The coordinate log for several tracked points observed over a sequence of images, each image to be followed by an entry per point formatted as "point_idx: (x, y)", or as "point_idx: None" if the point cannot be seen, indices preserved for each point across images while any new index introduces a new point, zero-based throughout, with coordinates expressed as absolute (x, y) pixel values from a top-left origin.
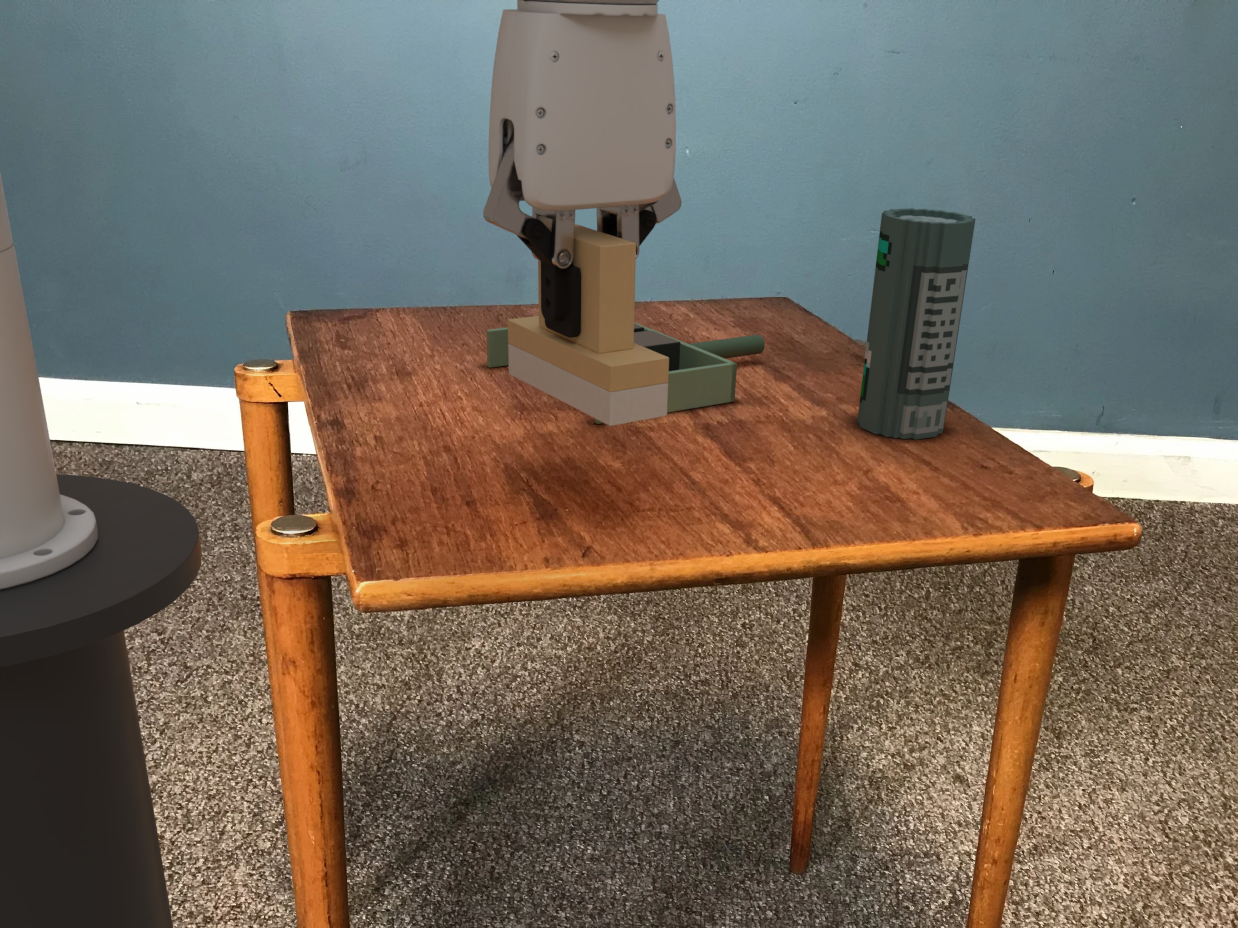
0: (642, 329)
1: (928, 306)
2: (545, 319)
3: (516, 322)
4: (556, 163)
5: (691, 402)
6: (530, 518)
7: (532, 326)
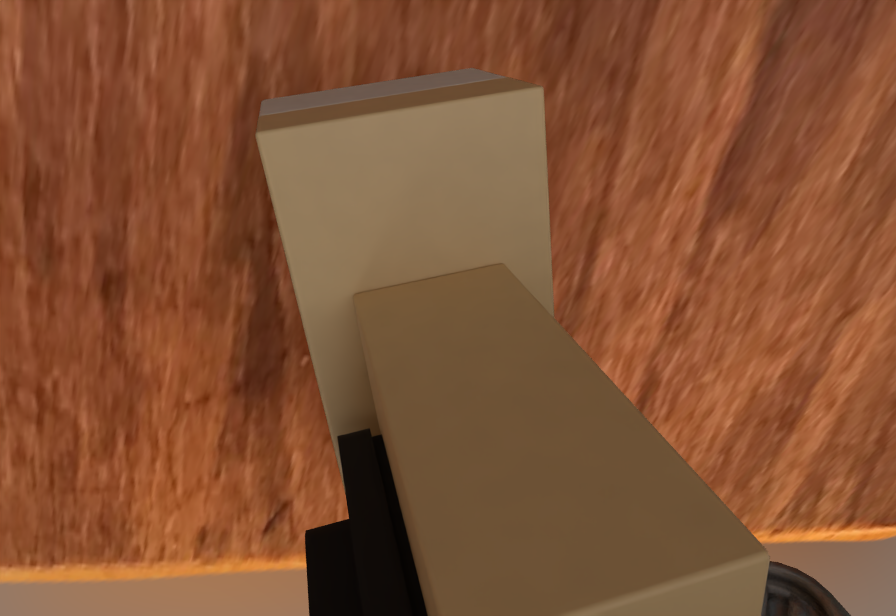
0: None
1: None
2: (340, 447)
3: (282, 199)
4: None
5: None
6: (222, 383)
7: (328, 284)
